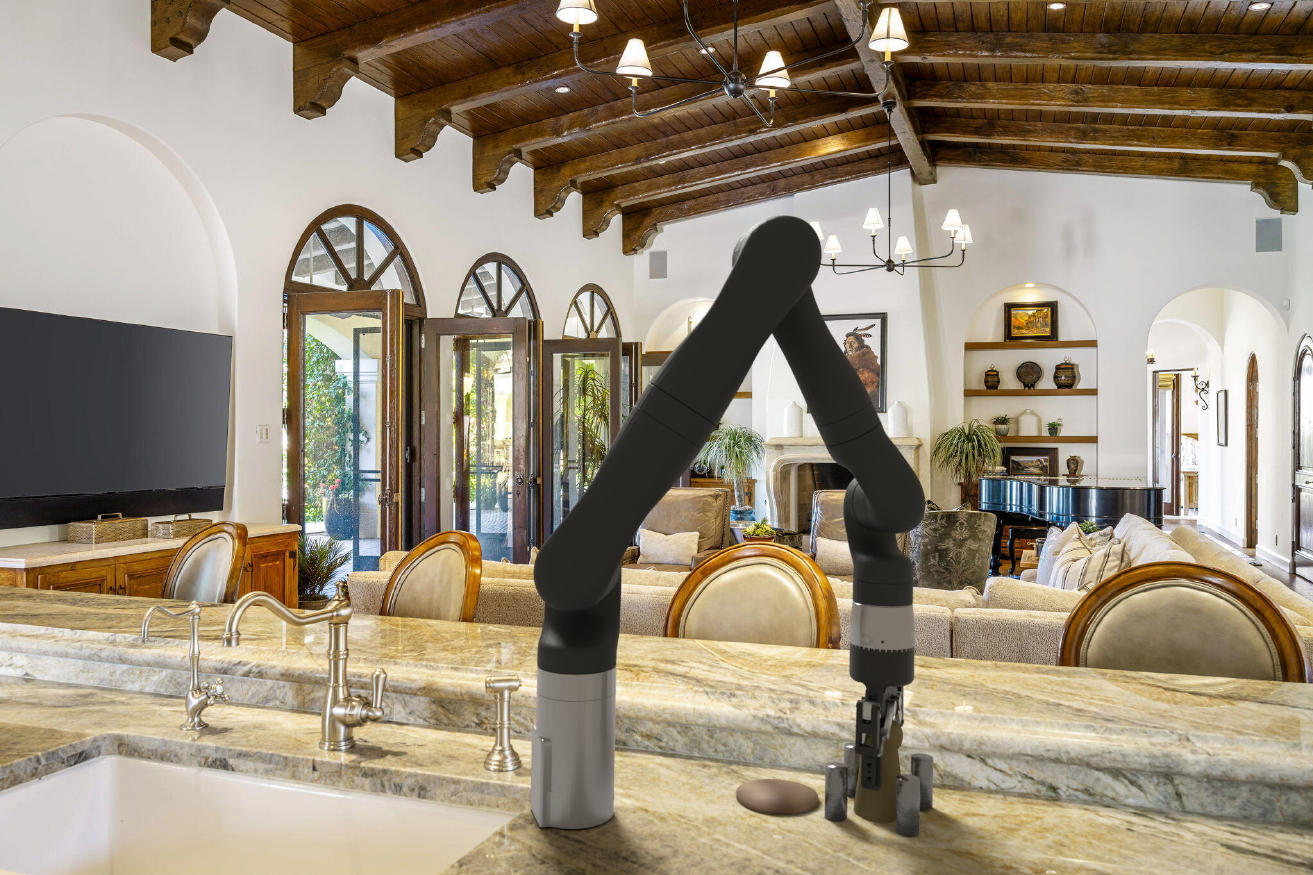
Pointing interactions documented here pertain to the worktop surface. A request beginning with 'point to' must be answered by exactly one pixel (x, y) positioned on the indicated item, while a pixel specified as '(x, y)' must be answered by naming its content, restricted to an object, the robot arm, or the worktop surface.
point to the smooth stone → (777, 797)
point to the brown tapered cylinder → (884, 800)
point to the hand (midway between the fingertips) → (880, 777)
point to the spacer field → (910, 790)
